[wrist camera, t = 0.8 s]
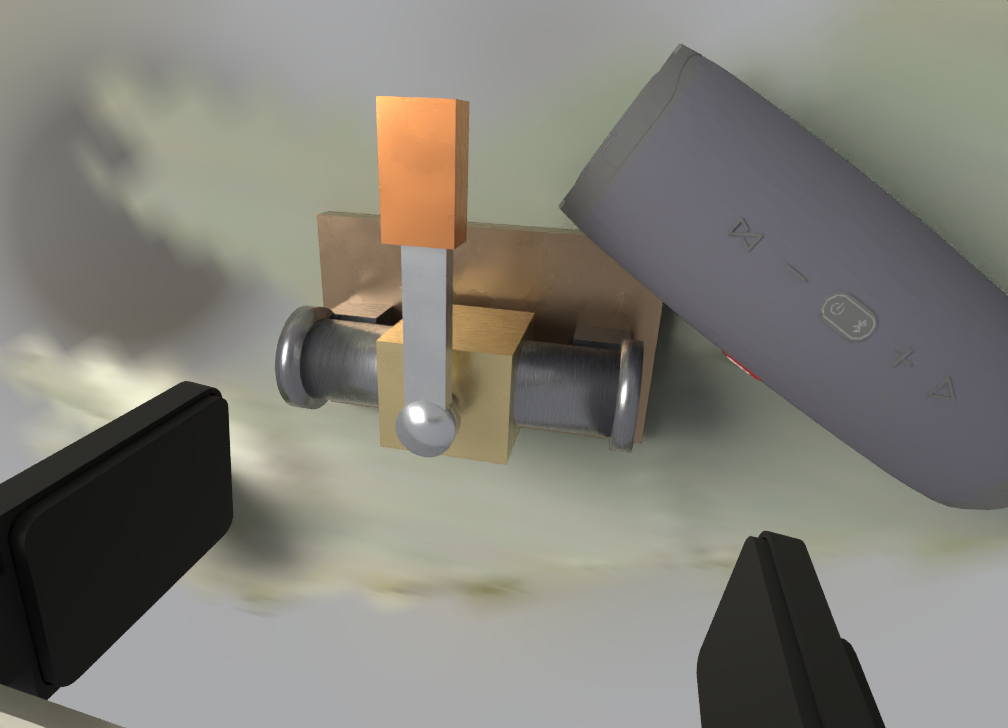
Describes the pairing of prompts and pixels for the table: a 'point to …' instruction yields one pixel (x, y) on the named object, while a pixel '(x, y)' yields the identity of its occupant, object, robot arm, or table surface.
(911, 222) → the bluetooth speaker
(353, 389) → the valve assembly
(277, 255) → the table surface
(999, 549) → the table surface
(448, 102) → the lever
